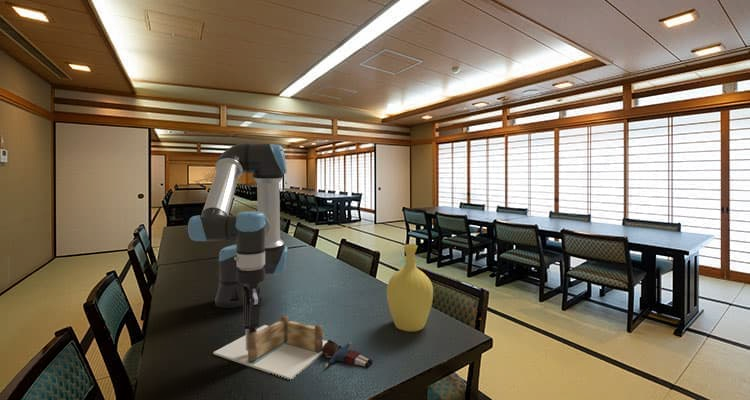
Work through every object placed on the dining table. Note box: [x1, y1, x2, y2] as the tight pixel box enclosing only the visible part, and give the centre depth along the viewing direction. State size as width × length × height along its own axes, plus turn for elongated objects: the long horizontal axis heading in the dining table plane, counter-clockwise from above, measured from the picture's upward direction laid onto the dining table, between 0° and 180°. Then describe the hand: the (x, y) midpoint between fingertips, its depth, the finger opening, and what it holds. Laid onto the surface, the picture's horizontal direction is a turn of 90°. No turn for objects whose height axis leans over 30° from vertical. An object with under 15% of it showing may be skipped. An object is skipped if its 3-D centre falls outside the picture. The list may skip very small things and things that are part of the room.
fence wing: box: [248, 315, 289, 361], centre depth 94 cm, size 15×2×7 cm, turn 153°
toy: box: [322, 339, 373, 369], centre depth 91 cm, size 14×5×15 cm
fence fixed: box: [288, 320, 324, 352], centre depth 97 cm, size 12×2×7 cm, turn 65°
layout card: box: [212, 324, 328, 381], centre depth 97 cm, size 28×20×1 cm
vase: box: [386, 243, 434, 332], centre depth 113 cm, size 16×16×28 cm
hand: (251, 348), depth 93 cm, fingers closed
